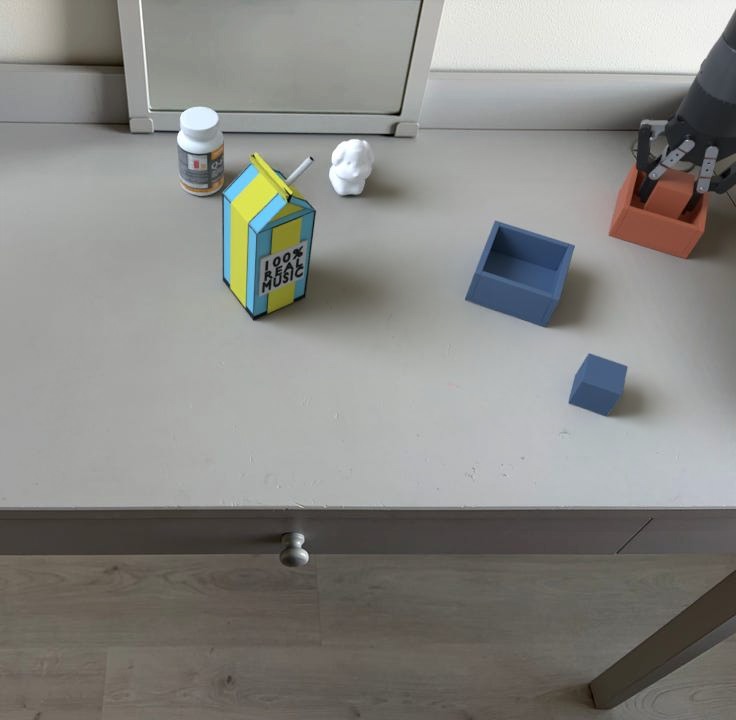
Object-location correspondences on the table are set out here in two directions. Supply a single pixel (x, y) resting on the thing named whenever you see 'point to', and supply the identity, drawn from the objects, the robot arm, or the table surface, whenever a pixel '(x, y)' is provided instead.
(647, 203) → the terracotta block
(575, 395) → the slate-blue block
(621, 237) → the terracotta bin
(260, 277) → the carton
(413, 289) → the table surface
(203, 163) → the pill bottle
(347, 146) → the figurine
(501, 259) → the slate bin
